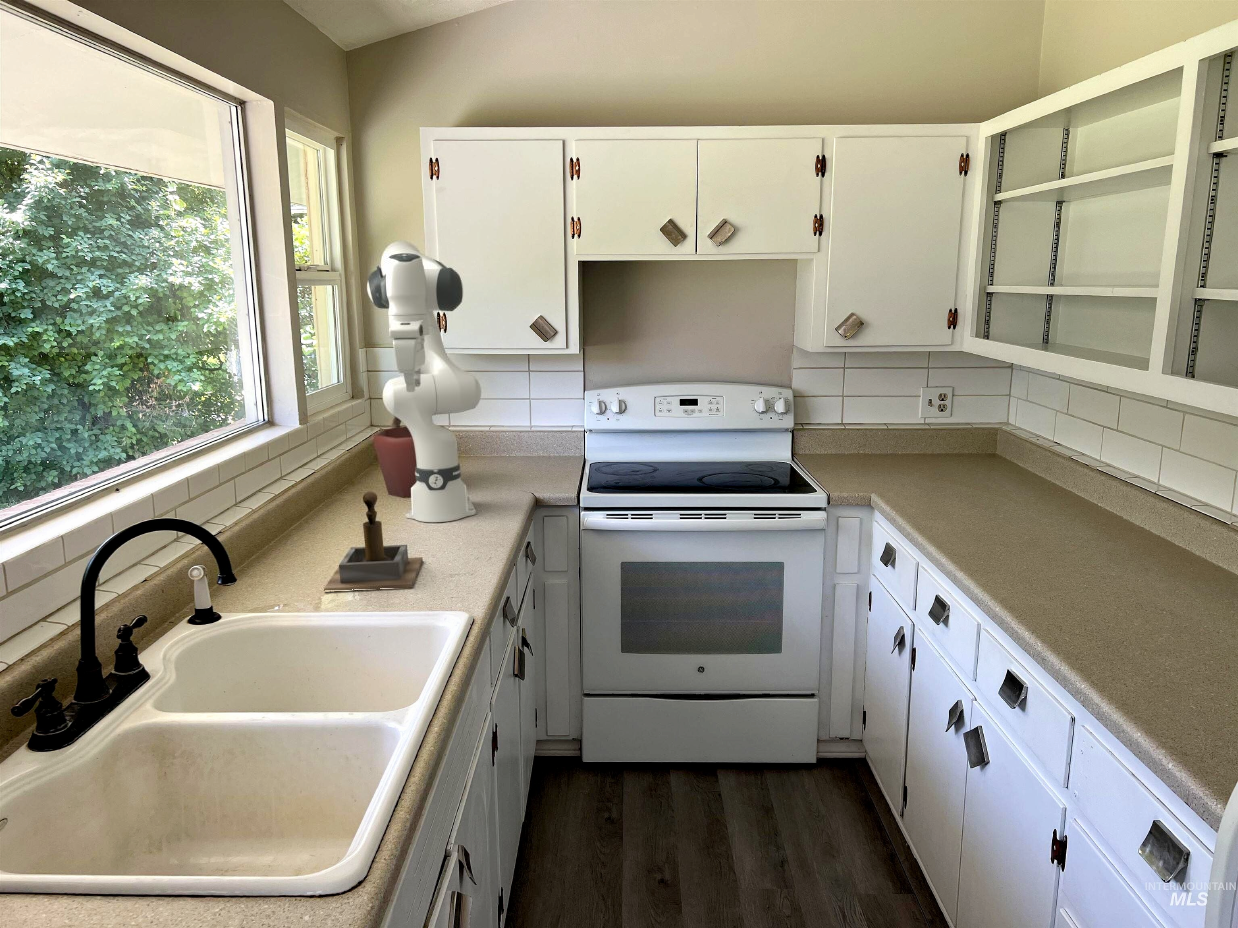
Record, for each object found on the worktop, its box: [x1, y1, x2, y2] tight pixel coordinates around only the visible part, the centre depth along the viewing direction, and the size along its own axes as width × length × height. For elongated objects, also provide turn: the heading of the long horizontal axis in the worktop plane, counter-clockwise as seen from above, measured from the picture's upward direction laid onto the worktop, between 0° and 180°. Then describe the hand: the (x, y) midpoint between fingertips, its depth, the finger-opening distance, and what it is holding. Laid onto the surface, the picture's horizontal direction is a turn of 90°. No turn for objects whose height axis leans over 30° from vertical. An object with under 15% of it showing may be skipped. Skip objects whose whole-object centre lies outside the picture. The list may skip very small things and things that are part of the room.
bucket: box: [372, 415, 450, 499], centre depth 266 cm, size 24×22×25 cm
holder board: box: [323, 544, 424, 592], centre depth 192 cm, size 18×18×5 cm
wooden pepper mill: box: [362, 491, 391, 562], centre depth 191 cm, size 7×6×18 cm
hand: (413, 389), depth 200 cm, fingers open, 8 cm apart
